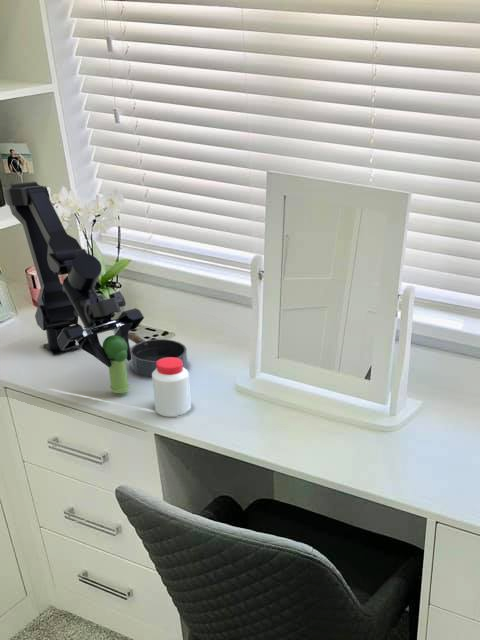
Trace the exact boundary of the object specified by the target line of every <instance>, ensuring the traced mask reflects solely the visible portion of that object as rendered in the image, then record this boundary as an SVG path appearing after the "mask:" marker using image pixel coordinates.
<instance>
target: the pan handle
mask: <svg viewBox="0 0 480 640" xmlns="http://www.w3.org/2000/svg"><path fill="white" fill-rule="evenodd" d="M128 339H129V340H130V341H132V342H133V343H134V344H135V345H136V344H138V343H140V342H143V341H146V340H145V339H143V338H141V337H140V336H139V335H137V334H135V333H134V332H128ZM147 346H148V344H147V343H145V344H144V347H145V348H146V347H147Z"/></svg>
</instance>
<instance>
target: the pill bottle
mask: <svg viewBox="0 0 480 640" xmlns="http://www.w3.org/2000/svg"><path fill="white" fill-rule="evenodd" d="M156 366H157V368H156V369H155V370H154V371H153V372H152V378H151V380H152V382H151V383H152V388H153V389H152V391H153V401H154V403H153V404H154V409H155V410H154V411H155V412H156V414H158V415H160V416H163V417H169V418H174V417H176V418H177V417H181V415H183V414H185V413H187V412H189V411H190V410H191V408H192V399H191V384H190V383H191V381H190V373H189V372H190V371H189V370H188V369H187V368H186V369H185V368H184V367H183V361H182V360H181V359H179V358H175V357H166V358H162V359H159V360H158V361H157V362H156Z"/></svg>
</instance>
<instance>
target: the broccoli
mask: <svg viewBox="0 0 480 640" xmlns="http://www.w3.org/2000/svg"><path fill="white" fill-rule="evenodd" d="M101 346H102V348H103V349H104V351H105V353H106V355H107V356H108V358H109V360H110V362H111V364H112V366H111V367H108V372H109V381H110V391H111V392H112V393H115V394H124V393H126V392H128V391H129V390H130V385H129V381H128V372H127V364H126V360H127V359H126V358H127V350H128V346H127V343H126V341H125V340H124V339H123V338H122V337H120V336H117V335H115V334H111V335H109V336H106V337H105V339H104V340H103V342H102V344H101Z"/></svg>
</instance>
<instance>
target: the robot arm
mask: <svg viewBox="0 0 480 640" xmlns="http://www.w3.org/2000/svg"><path fill="white" fill-rule="evenodd" d="M3 197H4V200H5V203H6V205H7V206H8V207H9V209H10V212H11V214H12V216H13V217H14V218H15V219H16V220H17V221H19V223H21V224H22V227H23V231H24V234H25V238H26V241H27V245H28V248H29V251H30V254H31V258H32V262H33V265H34V269H35V273H36V276H37V279H38V282H39V286H40V289H39V292H38V295H37V299H36V301H37V307H36V311H35V314H34V318H35V321H36V324H37V326H38V327H39V328H40V329H41V330H42V331H43V332H44V331H45V332H46V339H47V343H44V344H43V345H42V346H43V348H44V349H46V350H47V351H48V352H50V353H51V354H52V355H54V356H57V355H61V354H64V353H69V352H72V351H73V352H74V351H76V350H83V351H84V352H86V353H88V354H89V355H91V356H92V357H94V358H95V359H97V360H98V361H100V362H101V363H102V364H103V365H105V366H106V367H107V368H109V367H111V366H112V364H111V362H110V360H109V358H108V356H107V355H106V353H105V351H104V349H103V348H102V344H101V343H100V341H99V337H98V336H99V335H98V334H102V333H105V332H109V331H112V333H113V335H117V336H120V337H122V338H123V339H124V340H125V341H126V343H127V346H128V350H127V358H126V360H127V361H128V362H131V353H130V349H131V346H130V341H129V340H130V339H128V334H129V333H130V331H133V330H135V329H137V328H138V327H139V325H140V324H141V323H142V321H143V320H144V319H145V316H144V315H143V313H142V311H141V310H140V309H138V308H136V307H135V308H131V309H127V310H124V311H122V310H121V308H122V307H126V305H127V303H126V300H125V297H124V296H123V294H122V292H121V291H117V292H116V291H115V292H113V293H110V294H109V298H107V299H105V298H104V296H103V295H102V294H101V295H99V294H98V293H97V291H96V289H95V286H96V284H97V282H98V280H99V278H100V275H101V272H102V263H101V261H99V259H98V258H96V256H94V255H92V254H89V253H88V252H87V250H86V249H85V248H83V247H82V246H81V244H80V243H79V241H78V240H77V238H75V237H73V236H72V235H70V234H68V233H67V231H66V229H65V227H64V225H63V223H62V221H61V219H60V217H59V215H58V212H57V210H56V209H55V207H54V205H53V203H52V201H51V199H50V193H49V190H48V187H47V185H40V184H38V182H37V181H27V182H15V183H13V182H12V183H8V184H7V188H5V189H3ZM62 275H66V277H65V278H63V280H62V281H63V282H62V283H61V280H60V276H62ZM116 313H120V315H119V316H118V317H117V318H115V316H116ZM113 318H115V319H113ZM79 319H80V321H81V323H82V325H83V326H82V325H81V324H79ZM77 344H78V345H77Z"/></svg>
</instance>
